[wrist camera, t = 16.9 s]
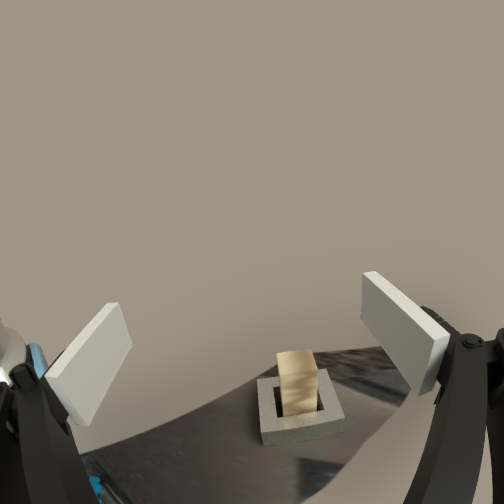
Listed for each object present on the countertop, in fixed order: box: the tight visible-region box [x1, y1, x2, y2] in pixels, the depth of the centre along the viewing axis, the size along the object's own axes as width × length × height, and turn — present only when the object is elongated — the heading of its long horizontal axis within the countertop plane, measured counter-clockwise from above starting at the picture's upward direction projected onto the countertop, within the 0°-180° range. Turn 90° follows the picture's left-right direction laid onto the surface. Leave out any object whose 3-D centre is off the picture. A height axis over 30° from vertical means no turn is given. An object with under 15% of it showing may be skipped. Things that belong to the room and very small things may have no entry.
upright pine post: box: [277, 348, 318, 417], centre depth 37 cm, size 5×5×12 cm
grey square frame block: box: [257, 369, 345, 446], centre depth 38 cm, size 12×12×4 cm
